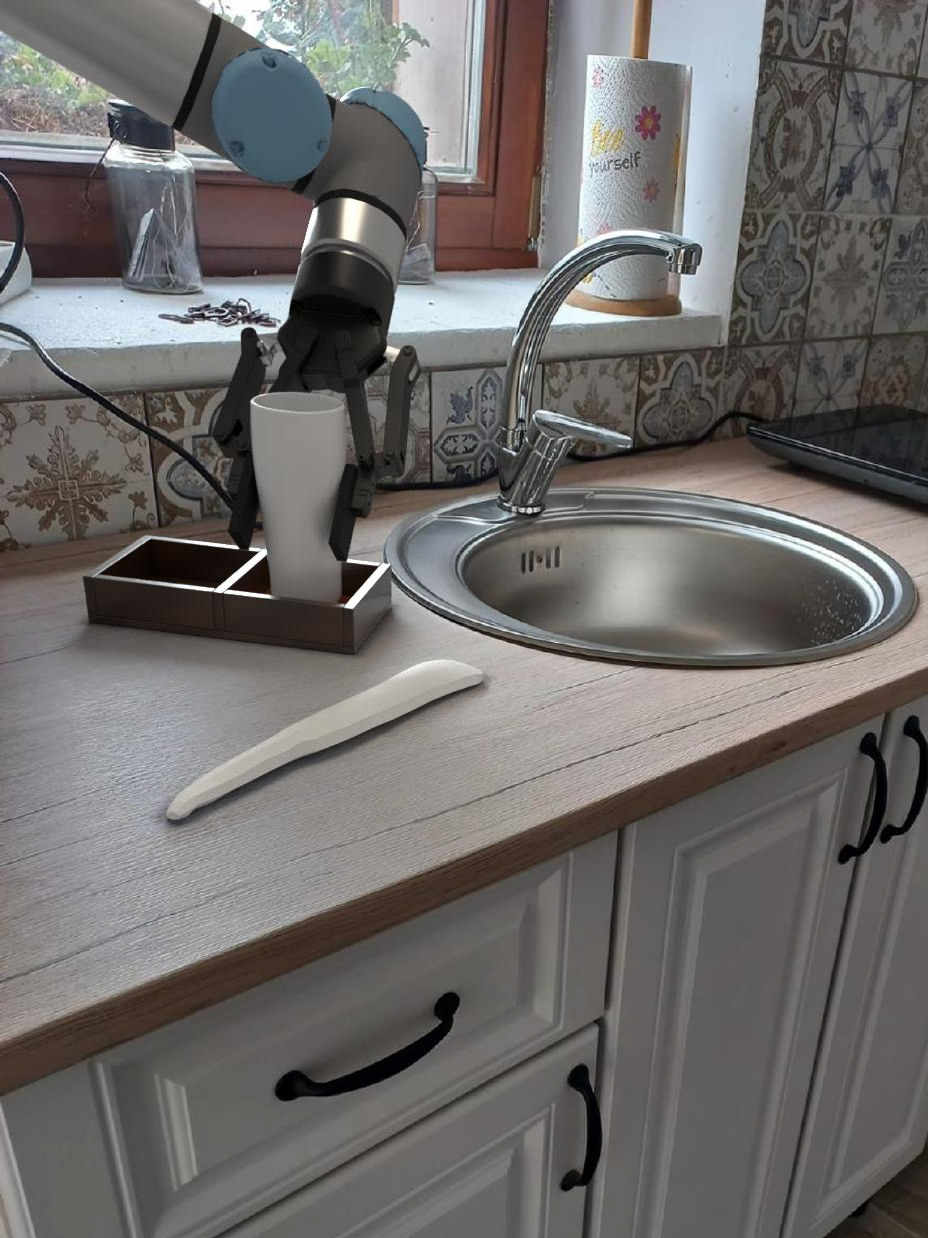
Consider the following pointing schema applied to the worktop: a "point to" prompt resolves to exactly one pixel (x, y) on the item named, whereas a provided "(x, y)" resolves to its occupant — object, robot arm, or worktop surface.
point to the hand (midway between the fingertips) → (288, 546)
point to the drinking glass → (299, 489)
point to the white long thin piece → (329, 728)
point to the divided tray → (231, 596)
